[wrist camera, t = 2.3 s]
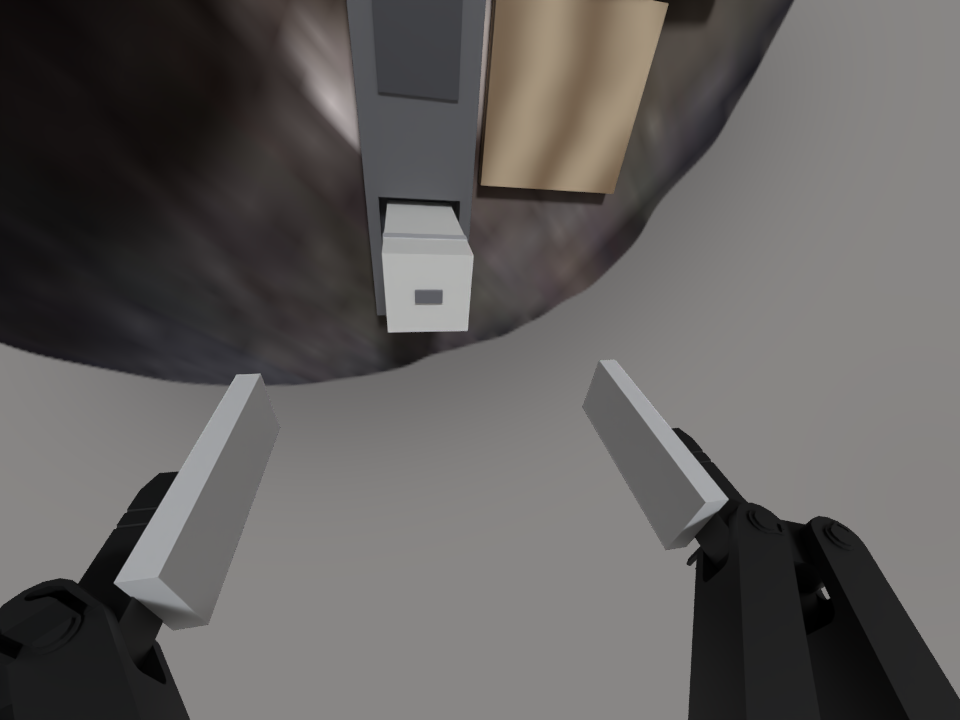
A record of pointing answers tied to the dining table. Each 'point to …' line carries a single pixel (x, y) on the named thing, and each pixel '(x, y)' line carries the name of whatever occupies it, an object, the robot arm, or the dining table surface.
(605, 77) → the wooden board
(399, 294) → the block
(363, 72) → the grey handheld radio
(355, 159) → the dining table surface
